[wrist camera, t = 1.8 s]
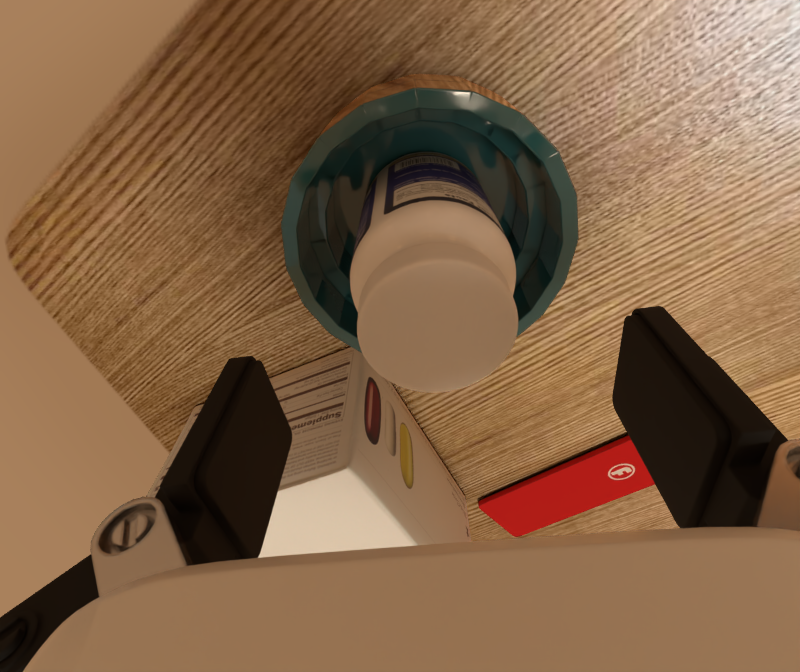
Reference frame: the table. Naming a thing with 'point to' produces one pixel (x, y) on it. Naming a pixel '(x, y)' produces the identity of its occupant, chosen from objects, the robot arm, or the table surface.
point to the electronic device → (569, 488)
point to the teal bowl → (428, 132)
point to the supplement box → (353, 466)
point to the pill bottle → (432, 276)
